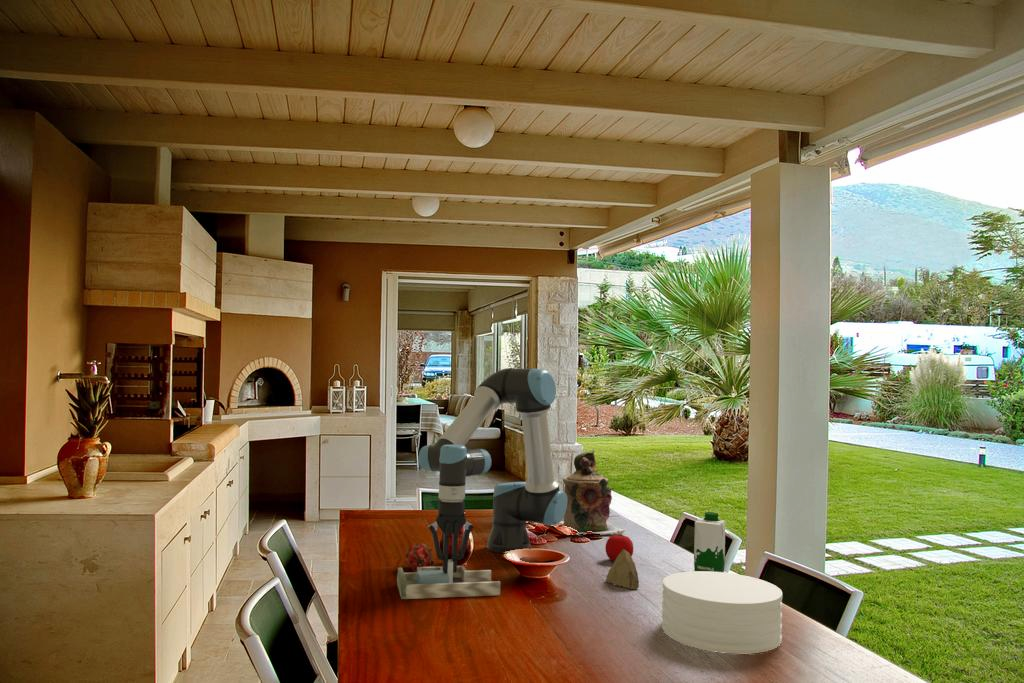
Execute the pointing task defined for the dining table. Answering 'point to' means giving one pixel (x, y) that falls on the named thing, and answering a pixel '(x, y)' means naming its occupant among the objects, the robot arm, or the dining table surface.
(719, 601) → the plate stack
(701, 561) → the milk carton
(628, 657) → the dining table surface
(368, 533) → the dining table surface
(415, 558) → the dragon fruit
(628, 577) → the rock
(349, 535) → the dining table surface
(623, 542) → the fruit
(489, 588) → the tray
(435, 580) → the block
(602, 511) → the cookie jar
